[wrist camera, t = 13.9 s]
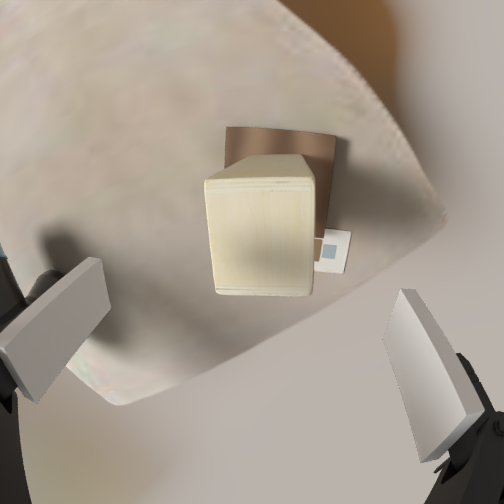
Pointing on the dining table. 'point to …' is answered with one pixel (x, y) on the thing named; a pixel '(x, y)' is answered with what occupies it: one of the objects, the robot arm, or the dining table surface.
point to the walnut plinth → (289, 142)
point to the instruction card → (331, 251)
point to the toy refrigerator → (262, 226)
